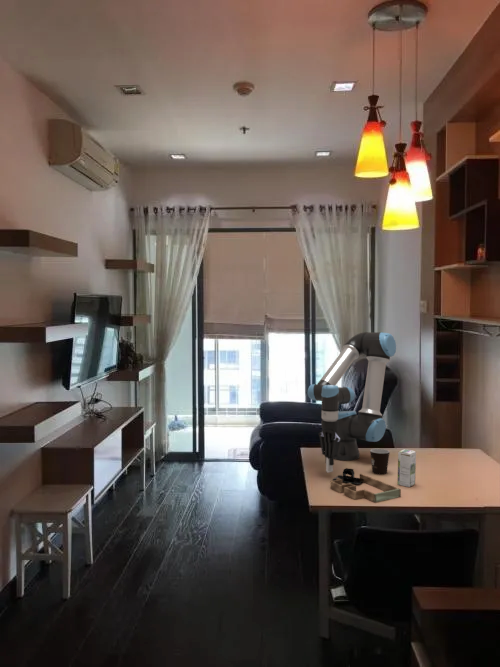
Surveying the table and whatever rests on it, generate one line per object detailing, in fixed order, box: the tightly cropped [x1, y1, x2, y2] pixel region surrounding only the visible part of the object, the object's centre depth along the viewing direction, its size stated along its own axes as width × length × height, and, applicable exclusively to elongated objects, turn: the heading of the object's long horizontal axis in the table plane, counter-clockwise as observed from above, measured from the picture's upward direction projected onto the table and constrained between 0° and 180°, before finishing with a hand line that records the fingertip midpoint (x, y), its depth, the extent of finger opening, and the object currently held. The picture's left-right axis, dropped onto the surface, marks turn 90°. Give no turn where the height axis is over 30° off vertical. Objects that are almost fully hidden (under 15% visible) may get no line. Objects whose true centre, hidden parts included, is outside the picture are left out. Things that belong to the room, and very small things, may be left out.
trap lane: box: [329, 473, 402, 503], centre depth 222 cm, size 24×18×3 cm
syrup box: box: [396, 448, 417, 488], centre depth 231 cm, size 6×6×14 cm
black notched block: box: [332, 467, 364, 485], centre depth 235 cm, size 12×7×5 cm, turn 57°
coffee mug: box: [369, 448, 390, 475], centre depth 250 cm, size 12×9×10 cm
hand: (329, 471), depth 243 cm, fingers closed
